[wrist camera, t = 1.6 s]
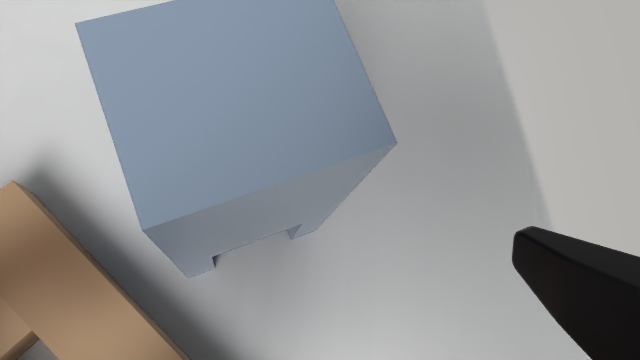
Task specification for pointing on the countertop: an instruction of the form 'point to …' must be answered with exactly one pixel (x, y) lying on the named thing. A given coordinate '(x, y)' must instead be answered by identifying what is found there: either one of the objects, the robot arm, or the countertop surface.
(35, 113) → the countertop surface
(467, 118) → the countertop surface
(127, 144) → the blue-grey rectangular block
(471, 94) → the countertop surface
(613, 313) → the robot arm
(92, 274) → the wooden block stand
